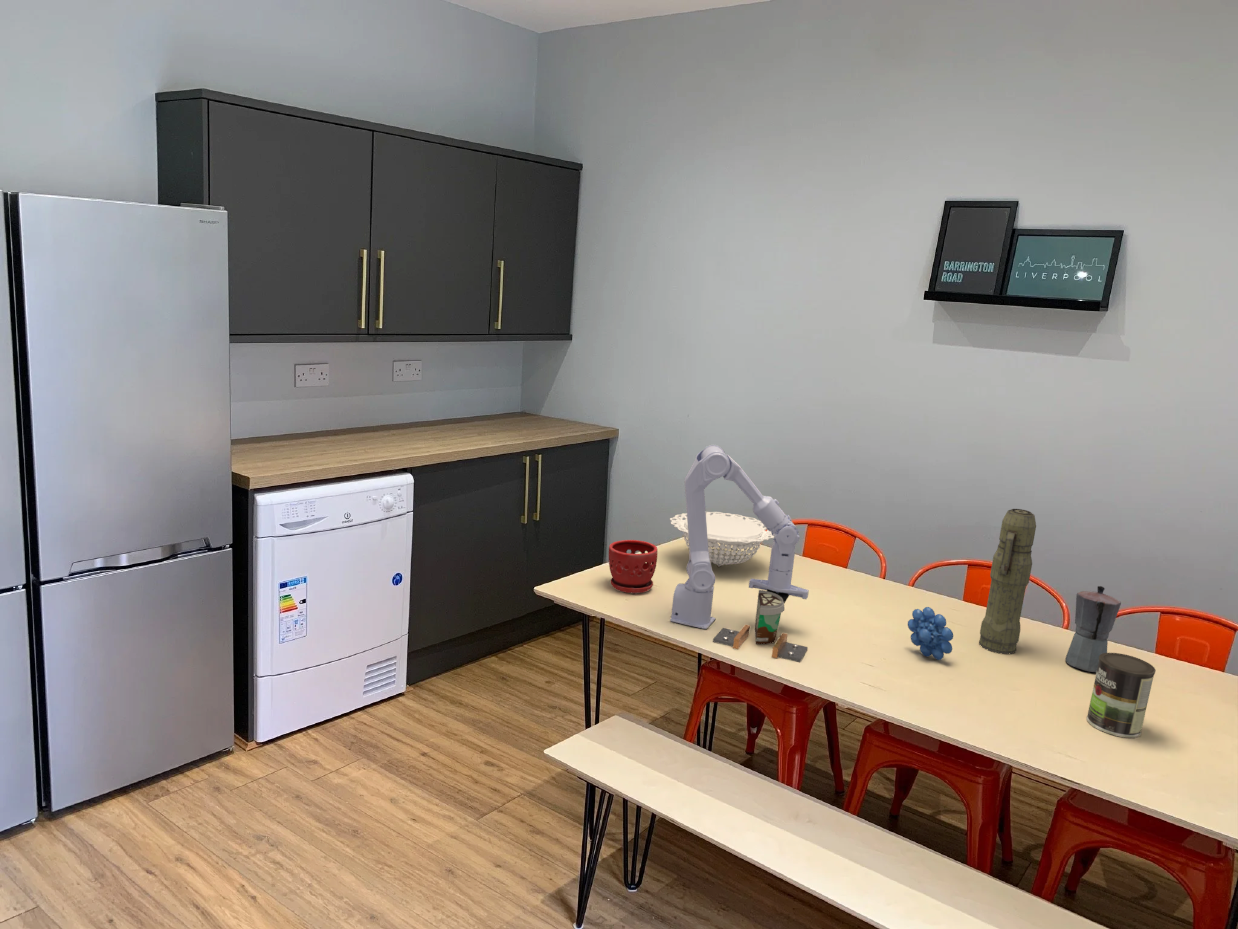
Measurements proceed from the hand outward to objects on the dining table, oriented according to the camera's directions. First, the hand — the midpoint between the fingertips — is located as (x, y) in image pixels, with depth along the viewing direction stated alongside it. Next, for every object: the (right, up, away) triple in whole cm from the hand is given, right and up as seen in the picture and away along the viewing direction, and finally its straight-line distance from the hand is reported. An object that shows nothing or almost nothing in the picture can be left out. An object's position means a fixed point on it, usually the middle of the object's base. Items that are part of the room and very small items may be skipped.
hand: (774, 620), depth 229 cm
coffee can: (+64, -16, -38) cm, 76 cm away
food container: (-3, -3, -7) cm, 8 cm away
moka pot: (+73, -10, -8) cm, 75 cm away
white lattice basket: (-9, +8, +46) cm, 47 cm away
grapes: (+34, -7, -11) cm, 36 cm away
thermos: (+55, -7, 0) cm, 56 cm away
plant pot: (-36, +5, +20) cm, 41 cm away
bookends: (-5, -4, -12) cm, 14 cm away
